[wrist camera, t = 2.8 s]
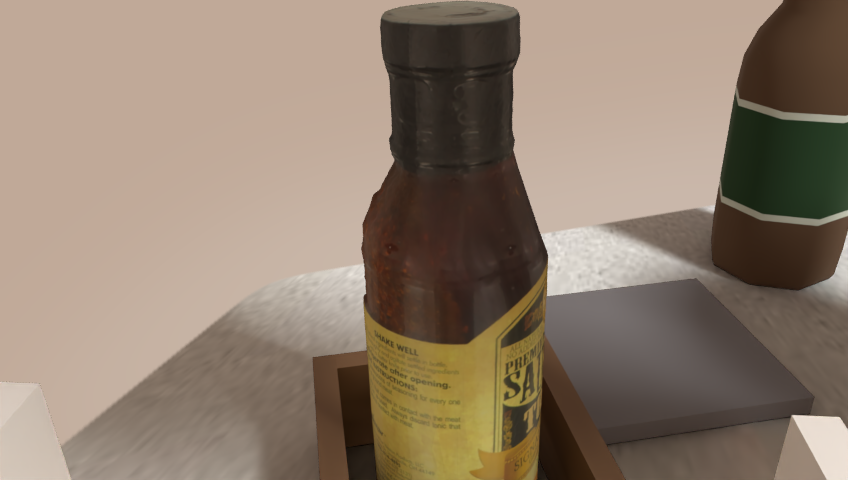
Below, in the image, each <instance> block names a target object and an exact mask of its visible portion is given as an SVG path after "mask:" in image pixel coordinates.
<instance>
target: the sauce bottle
mask: <svg viewBox="0 0 848 480" xmlns="http://www.w3.org/2000/svg"><path fill="white" fill-rule="evenodd" d="M380 30H381V47H382V54H383V60H384V62H385V66H386V69H387V72H388V74H389V80H390V97H391V115H392V135H391V136H390V138H389V142H390V150H391V152H392V156H393V157H394V159H395V161H394V163H393V165H392V167H391V169H390V170H389V172H388V175H387V177H386V178H385V180H384V182H383V183H382V186H381V189H380V190H379V191H377V192H376V193H375V194H374V195H373V197H372V201H371V204H370V207H369V210H368V212H367V214H366V217H365V220H364V222H363V242H362V248H361V250H362V255H363V259H364V267H365V276H364V277H365V280H366V294H365V295H364V316H365V330H366V344H367V355H368V368H369V382H370V397H371V411H372V424H373V436H374V450H375V462H376V474H377V480H537V471H538V455H539V435H540V416H541V405H542V379H543V360H544V340H545V338H544V333H545V332H544V327H545V312H546V296H547V269H548V254H547V250H546V248H545V245H544V242H543V240H542V237H541V234H540V232H539V229H538V226H537V223H536V220H535V217H534V214H533V211H532V208H531V205H530V202H529V199H528V196H527V193H526V190H525V187H524V184H523V181H522V178H521V175H520V172H519V169H518V166H517V162H516V159H515V155H514V151H513V147H514V141H515V139H514V137H513V131H512V112H513V109H512V101H513V69H514V67H515V65H516V63H517V60H518V57H519V54H520V16H519V12H518V11H517V10H516V9H515V8H514V7H509V6H506V5H502V4H495V3H488V2H474V1H452V2H437V3H428V4H419V5H410V6H404V7H398V8H395V9H391V10H388V11H386V12H385V13H384V14H383V15H382V18H381V26H380Z"/></svg>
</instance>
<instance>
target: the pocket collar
mask: <svg viewBox="0 0 848 480" xmlns="http://www.w3.org/2000/svg"><path fill="white" fill-rule="evenodd" d="M544 338H545V340H544V360H543V379H542V405H541V416H540V435H539V455H538V457H539V459H540V462H541V464H542V466H543V468H544V471H545V473H546V475H547V478H548V480H625V478H624V476H623V474H622V472H621V471H620V469H619V467H618V465H617V463H616V462H615V460H614V458H613V456H612V454H611V453H610V451H609V449H608V447H607V445H606V444H605V442H604V440H603V438H602V436H601V435H600V433H599V431H598V429H597V427H596V426H595V424H594V422H593V420H592V418H591V417H590V415H589V413H588V411H587V409H586V408H585V406H584V404H583V402H582V400H581V399H580V397H579V395H578V393H577V391H576V390H575V388H574V386H573V384H572V382H571V381H570V379H569V377H568V375H567V373H566V372H565V370H564V368H563V366H562V364H561V363H560V361H559V359H558V357H557V355H556V354H555V352H554V350H553V348H552V346H551V345H550V343H549V341H548V339H547V337H546V336H545V334H544ZM313 371H314V388H315V405H316V422H317V439H318V456H319V473H320V480H349V475H348V465H347V456H346V447H352V446H359V445H366V444H372V443H374V436H373V424H372V411H371V397H370V382H369V368H368V355H367V351H359V352H351V353H344V354H336V355H328V356H320V357H313Z"/></svg>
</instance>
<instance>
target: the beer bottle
mask: <svg viewBox="0 0 848 480" xmlns="http://www.w3.org/2000/svg"><path fill="white" fill-rule="evenodd" d="M847 231H848V0H783V3H782V4H781V5H780V6H779V7H778V9H777V10H776V11H775V12H774V13H773V14H772V15H771V16H770V17H769V18H768V19H767V21H766V22H765V23H764V24H763V25H762V26H761V27H760V28H759V30H758V31H757V33H756V35H755V37H754V38H753V40H752V42H751V44H750V45H749V47H748V49H747V51H746V52H745V54H744V57H743V62H742V65H741V69H740V73H739V77H738V81H737V85H736V90H735V96H734V102H733V108H732V113H731V119H730V125H729V131H728V137H727V142H726V148H725V154H724V160H723V165H722V171H721V177H720V182H719V188H718V194H717V200H716V205H715V211H714V218H713V227H712V236H711V244H712V260H713V263H714V265H715V266H717V267H719V268H721V269H723V270H724V271H726V272H728V273H730V274H732V275H733V276H735V277H737V278H739V279H741V280H743V281H744V282H746V283H748V284H752V285H760V286H768V287H776V288H784V289H792V290H800V289H803V288H806V287H808V286H811V285H813V284H816V283H819V282H821V281H824V280H826V279H829V278H830V277H831V276H832V275H833V274H834V272H835V269H836V267H837V264H838V261H839V258H840V255H841V252H842V250H843V246H844V242H845V239H846V235H847Z"/></svg>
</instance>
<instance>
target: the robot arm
mask: <svg viewBox="0 0 848 480" xmlns="http://www.w3.org/2000/svg"><path fill="white" fill-rule="evenodd" d="M0 480H71V477H70V474H69V471H68V468H67V465H66V462H65V459H64V455H63V452H62V449H61V446H60V443H59V440H58V437H57V434H56V431H55V428H54V425H53V422H52V419H51V416H50V413H49V410H48V407H47V404H46V401H45V398H44V394H43V391H42V388H41V385H40V383H18V382H0ZM774 480H848V429H847V428H846V426H845V424H844V423H843V421H842V420H841V418H840V417H827V416H803V415H792V416H791V419H790V423H789V427H788V430H787V434H786V437H785V441H784V445H783V448H782V452H781V455H780V459H779V463H778V466H777V470H776V473H775V477H774Z"/></svg>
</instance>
